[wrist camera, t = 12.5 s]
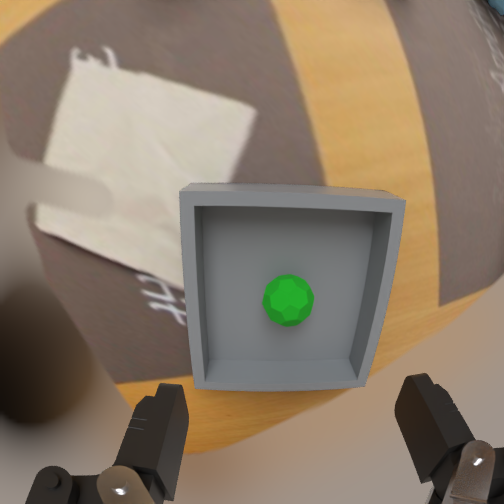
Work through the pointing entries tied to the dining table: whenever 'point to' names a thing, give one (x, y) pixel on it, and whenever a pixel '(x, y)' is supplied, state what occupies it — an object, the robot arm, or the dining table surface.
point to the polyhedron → (288, 300)
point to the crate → (282, 263)
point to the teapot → (497, 5)
